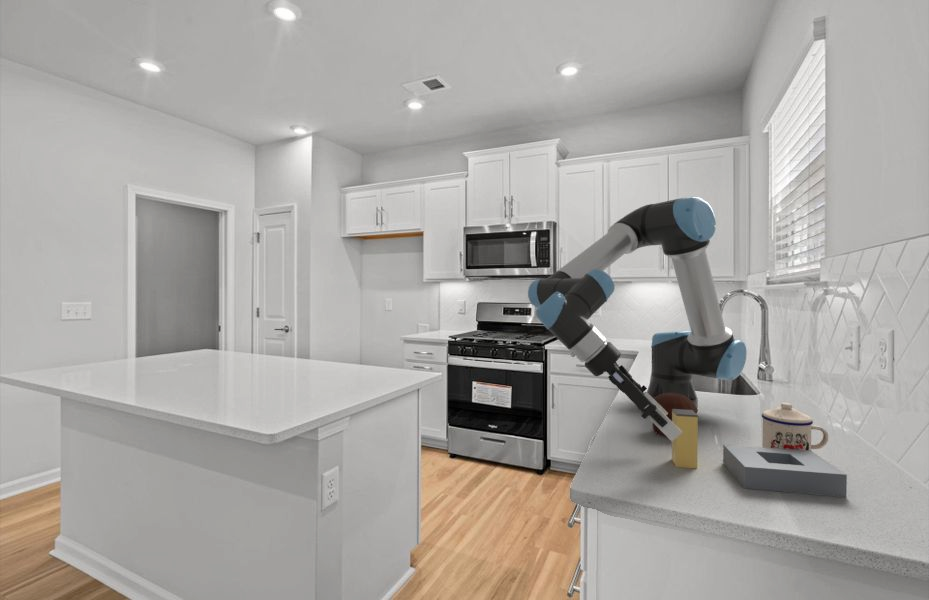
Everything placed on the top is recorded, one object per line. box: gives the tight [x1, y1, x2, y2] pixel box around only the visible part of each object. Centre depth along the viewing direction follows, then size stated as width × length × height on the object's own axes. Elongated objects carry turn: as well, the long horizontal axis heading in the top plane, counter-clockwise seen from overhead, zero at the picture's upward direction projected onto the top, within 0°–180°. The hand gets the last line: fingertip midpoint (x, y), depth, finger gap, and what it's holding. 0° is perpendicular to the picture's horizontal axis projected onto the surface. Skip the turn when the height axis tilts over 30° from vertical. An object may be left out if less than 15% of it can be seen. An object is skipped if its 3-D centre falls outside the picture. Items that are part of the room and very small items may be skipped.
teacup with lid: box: [761, 402, 829, 451], centre depth 97 cm, size 12×9×12 cm
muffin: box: [651, 393, 699, 438], centre depth 114 cm, size 12×11×10 cm
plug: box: [671, 409, 699, 469], centre depth 94 cm, size 4×4×11 cm
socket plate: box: [722, 444, 848, 498], centre depth 86 cm, size 12×16×4 cm
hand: (669, 426), depth 94 cm, fingers open, 13 cm apart
